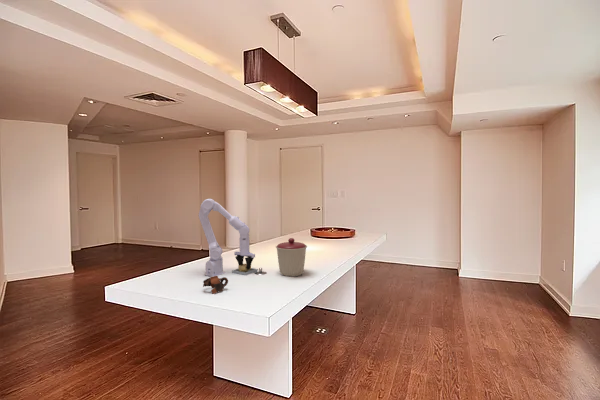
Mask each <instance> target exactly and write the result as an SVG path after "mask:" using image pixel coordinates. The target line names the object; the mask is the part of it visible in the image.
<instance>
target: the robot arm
mask: <svg viewBox="0 0 600 400" xmlns="http://www.w3.org/2000/svg"><path fill="white" fill-rule="evenodd" d="M199 207H200V208H199V212H198V219H199V222H200V224H201V227H202V230H203V232H204V235H205V238H206V240H207V244H208V249H209V257H210V258H209V260H208V261H206V262H205V273H204V275H205V276H207V277H213V276H220V275H223V274H226V273H227V272H225V271H223V270H224V269H223V267H224V265H223V262H224V259H223V256H222V254H223V248H222V247H221V246H220V245H219V243H218V241H217V238H216V236H215V233H214V230H213V227H212V223H211V222H210V218H209V214H210V213H211V211H212V212H213V211H214V212H218V213H219V214H221V215H222V216H224V218H226V219H227V220H228V224H229V225H230V226H231V227H232V228H233V229H235V230H236V231H238V234H239V239H238V240H239V251H234V256H235V259H236V261H237V264H238V265H241V264H244V260H245V264H246V266H247V270H248V269H250V267H251V268H252V263H253V262H254V261H253V260H254V258H256V254H255V253H252V252H251V251H250V227H249V226H248V224H246V223H245V222H243V221H242V220H241V219H240V217H239V216H236V215H232V214H231V213H230V212H229V211H227V210H226V208H224V206H222V205H221V203H219V202H218V201H215V199H213V198H207V199H204V200H203V201H202V202H201V204H200V206H199Z"/></svg>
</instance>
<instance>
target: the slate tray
mask: <svg viewBox="0 0 600 400" xmlns="http://www.w3.org/2000/svg"><path fill="white" fill-rule="evenodd" d="M255 272H259V268H255V267H251V270H249V271H246V272H239V270H238V268H237V269H233V270H231V274H236V275H241V276H248V275H251V274H254V273H255Z"/></svg>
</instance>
